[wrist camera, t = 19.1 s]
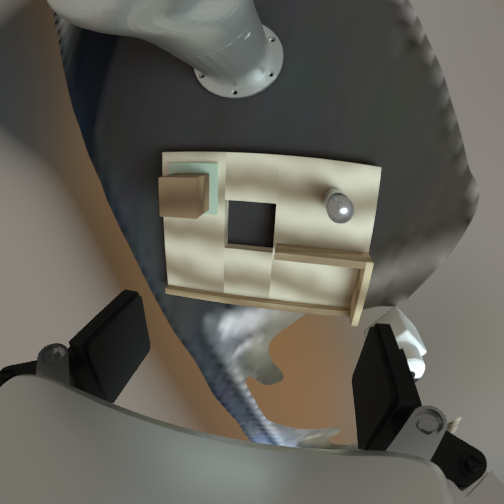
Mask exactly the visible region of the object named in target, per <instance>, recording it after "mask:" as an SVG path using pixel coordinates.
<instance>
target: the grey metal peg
mask: <svg viewBox="0 0 504 504" xmlns="http://www.w3.org/2000/svg"><path fill="white" fill-rule="evenodd" d="M323 203H324V206H325V208H326V211H327V214H328V216H329V218H330V219H331V220H332V221H333V222H335V223H339V224H343V223H346V222H348V221H349V220H350V219H351V218H352V217H353V214H354V206H353V203H352V202H351V201H350V200H349V198H348V197H347V196H346V195H345V194H344V193H343V192H342V191H341V190H340V189H339V188H336V187H332V188H329V189H327V190H326V191H325V192H324V194H323Z"/></svg>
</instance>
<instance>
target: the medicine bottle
mask: <svg viewBox="0 0 504 504" xmlns="http://www.w3.org/2000/svg"><path fill="white" fill-rule="evenodd" d="M376 323H383V324H390V326H391V328H392V331H393V333H394V336H395V338H396V341H397V344H398V346H399V349H400V352H401V355H402V357H405V358H406V360H407V362H408V365H409V368H410V371H411V374H412V377H413V379H414V382H417V381H418V380H419V379H420V378H421V376H422V375H423V373H424V370H425V364H424V362H423V359H422V357H421V356H423V355H424V354H425V353H426V349H425V347H424V344H423V342H422V340H421V338H420V336H419V334H418V332H417V330H416V328H415V327H414V325H413V324H412V323H411V322H410V321H409V320H408V319H407V317H406V316H405V315H404V314H403V313H402V312H401V311H400V310H399V308H398V307H397V306H394V307H393V308H392V309H391V310H389V311H388V312H387V313H386V314H385V315H383V316H382V317H381V318H380V319H378V320H377V321H376V322H375V323H373V324H372V325H371V326H370V327H374V325H375V324H376ZM370 327H368V328H367V329H366V330H365V332H364V333H365V337H367V334H368V331H369V328H370Z"/></svg>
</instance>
